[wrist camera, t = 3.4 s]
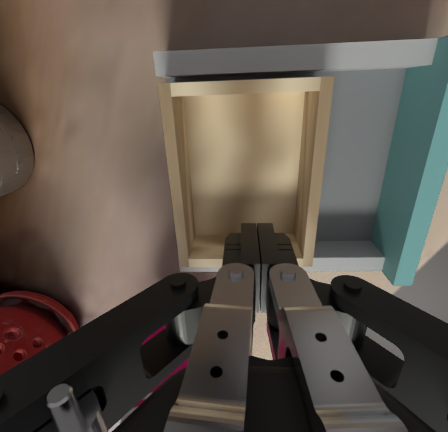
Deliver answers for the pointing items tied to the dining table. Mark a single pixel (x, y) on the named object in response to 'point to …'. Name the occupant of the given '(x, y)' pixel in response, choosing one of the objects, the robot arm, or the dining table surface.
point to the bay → (358, 141)
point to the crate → (245, 160)
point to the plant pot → (30, 326)
